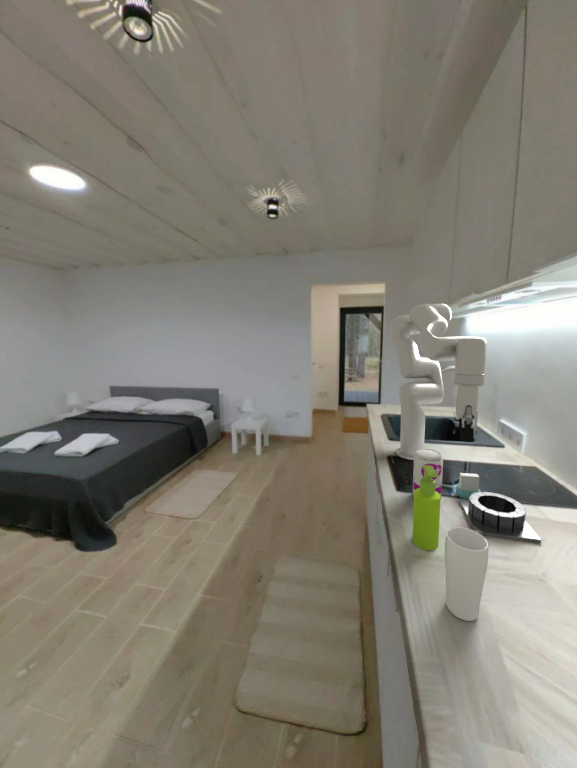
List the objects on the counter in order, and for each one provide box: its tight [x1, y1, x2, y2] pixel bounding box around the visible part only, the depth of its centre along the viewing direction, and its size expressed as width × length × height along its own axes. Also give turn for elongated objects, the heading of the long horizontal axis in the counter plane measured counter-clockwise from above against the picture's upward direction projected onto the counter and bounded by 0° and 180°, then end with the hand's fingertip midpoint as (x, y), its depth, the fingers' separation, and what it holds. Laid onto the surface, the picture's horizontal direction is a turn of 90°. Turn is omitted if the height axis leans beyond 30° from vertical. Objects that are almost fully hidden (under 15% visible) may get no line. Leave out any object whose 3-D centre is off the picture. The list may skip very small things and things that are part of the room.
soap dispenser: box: [412, 465, 442, 551], centre depth 73 cm, size 6×7×20 cm
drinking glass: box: [444, 526, 489, 622], centre depth 55 cm, size 7×7×15 cm
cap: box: [455, 472, 482, 500], centre depth 95 cm, size 7×7×7 cm
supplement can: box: [412, 448, 444, 497], centre depth 94 cm, size 8×8×15 cm
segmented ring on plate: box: [458, 491, 542, 544], centre depth 82 cm, size 16×14×5 cm
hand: (465, 435), depth 90 cm, fingers open, 9 cm apart
